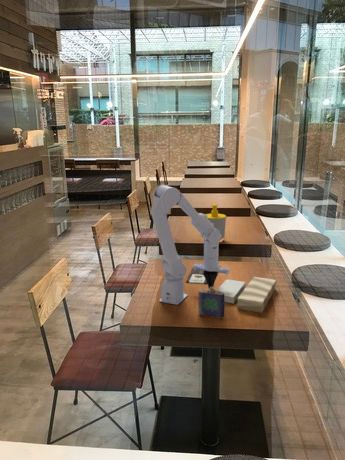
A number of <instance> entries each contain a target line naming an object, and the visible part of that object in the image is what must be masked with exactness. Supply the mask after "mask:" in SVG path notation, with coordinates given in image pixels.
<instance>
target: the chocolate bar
mask: <svg viewBox="0 0 345 460" xmlns="http://www.w3.org/2000/svg"><path fill="white" fill-rule="evenodd" d="M203 273H204V270H197V269H196V270H194V266H193V267H191V270H190V272H189V274H188V276H187V279H186V280H185V283H187V284H198V285H199V284H202V285H208V284H207V281H206V279H205V277H204V275H203Z"/></svg>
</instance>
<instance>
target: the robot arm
mask: <svg viewBox="0 0 345 460" xmlns="http://www.w3.org/2000/svg"><path fill="white" fill-rule="evenodd" d="M152 197H153V199H152V203H151V208H150V214H151V218H152V221H153V224H154V228H155V231H156V235H157V238H158V242H159V244H160V249H161V252H162V256H161V259H162V265H161V267H162V270H163V271H164V281H163V282H162V284H161V285H160V299H159V300H158V301H159V302H161V303H166V304H170V305H171V304H172V305H175V306H176V305H177V306H178V305H179V304H180V303H181V302H182V301H183V300H185V299H186V298H187V297H188V294H187V293H185V291H184V289H185V288H184V282H185V281H184V277H185V276H186V273H187V267H186V265H185V264H184V263H183V262H182V258H181V257H180V256H179V254H178V251H177V249H176V245H175V240H174V237H173V234H172V230H171V226H170V224H169V219H168V215H167V214H168V212H169V211H170V210H171V209H172V208H173V207H174V206H177V207H179V208H180V209H181V210H182V211H183V212H184V213H185V214H186V215H187V216H188V217H189V218H190V220H191V221H190V222H191V223H190V224H191V225H192V226H193V227H194V228H195V229H196V230H197V231H198V232H199V234H200V236H201V238H203V263H195V264H193V267H194V270H196V269H197V270H204V273H203V275H204V277H205V279H206V281H207V284H206V285H207V289H209V288H210V287H211V286H214V285H215V281H216V279H217V277H218V275H219V274H225V275H226V276H227V275H229V274H230V268H229V267H224V266H221V265H219V249H220V248H219V245H220V243H219V241H220V240H221V237H222V235H221V234H220V231H219V230H218V229H216V228H214V224H213V223H211V222H210V221H209V220H208V219H207V215H206V213H202V212H198V211H197V210H196V209H195V207H194V206H193V205H192V204H191V203H190V201H189V200H188V199H187V198H186V197H185V195H184V193H182V192H180V190H179V189H178V188H176V187H172V186H168V185H166V184H159V185H158V186H157V187H156V188H155V190H154V191H153V193H152ZM205 239H206V240H205ZM214 287H215V286H214Z"/></svg>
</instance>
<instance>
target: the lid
mask: <svg viewBox="0 0 345 460" xmlns="http://www.w3.org/2000/svg"><path fill="white" fill-rule="evenodd" d="M245 288H246V281H239V280H233V279H226V280H224V282H223V283H222V284H221V285H220V286H219V287H218V288H217V289H215V291H218V292H219V291H220V292H223V293H224V303H230V304H235V302H236V301H238V297H239V296H240V294H241V293H242V292H243V290H244V289H245Z"/></svg>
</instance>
